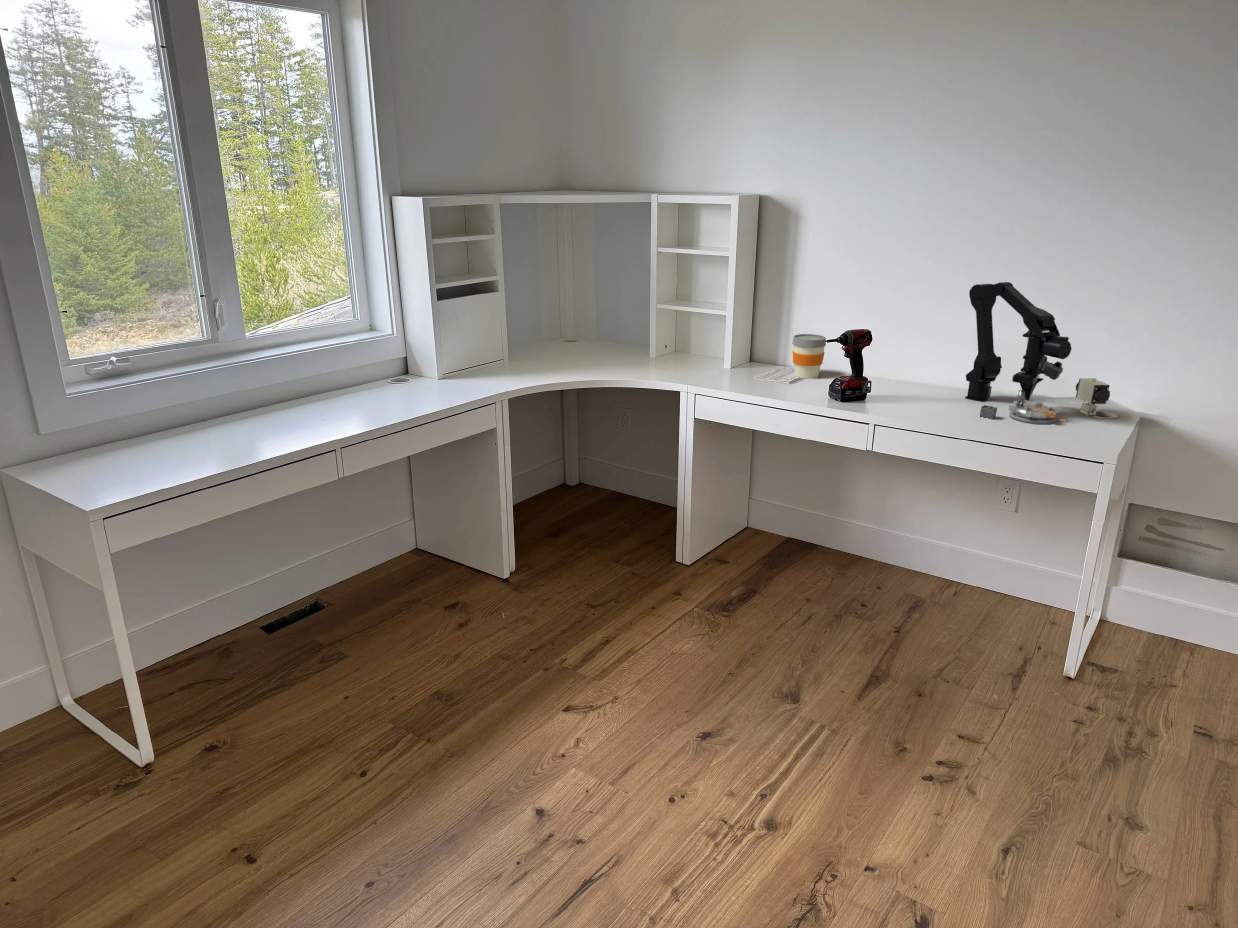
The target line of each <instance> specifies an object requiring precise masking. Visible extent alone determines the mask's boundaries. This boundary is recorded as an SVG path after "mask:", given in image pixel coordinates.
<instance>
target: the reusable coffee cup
mask: <svg viewBox="0 0 1238 928" xmlns="http://www.w3.org/2000/svg"><path fill="white" fill-rule="evenodd" d="M791 343H792V346H793V349H792V363H793V365H794V366H793V367H794V377H797V378H800V379H816V378H818V377H819V375H820V374H819V373H820V370H821V366H822V365H823V361H824V356H825V347H826V346H827V337H826V336H824V335H821V334H813V333H802V334H801V333H799V334H795V335H793V337H792V342H791Z"/></svg>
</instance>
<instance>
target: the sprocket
mask: <svg viewBox="0 0 1238 928" xmlns="http://www.w3.org/2000/svg"><path fill="white" fill-rule="evenodd" d="M1024 396H1025V391H1024V390H1022V389H1019V390H1018V395H1017V400H1014V401H1013V404H1009V405H1008V411H1009V412H1011V411H1013V413H1014V414H1015V415H1017V416H1020V417H1024V418H1028V419H1037V420H1048V419H1052V418H1054V417H1055V416H1056V415H1057V414H1060V411H1061V408H1060V407H1059V406H1047V405H1044V402H1042V401H1036V402H1035V403H1027V402H1026V403H1025V402H1024V401H1025V398H1024Z"/></svg>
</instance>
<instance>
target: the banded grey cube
mask: <svg viewBox="0 0 1238 928" xmlns="http://www.w3.org/2000/svg"><path fill="white" fill-rule="evenodd" d="M997 410H998V407H995V406H993V405H985V404H984V405H982V406H981V407H980V413H979V418H981V417H983V419H986V418H988V420H994V419H996V418H995V417H996V416H997Z"/></svg>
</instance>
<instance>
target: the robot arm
mask: <svg viewBox="0 0 1238 928" xmlns="http://www.w3.org/2000/svg"><path fill="white" fill-rule="evenodd" d="M968 295H969V300H970V304H971V306H972V307H973V308H974V310H975V317H976V318H975V319H976V320H975V321H976V338H977V356H976V357H975V359H974V361H973V369H971V370H970V371H969V372H968V373H966V374H965V381H966V382H968V389H967V395H966V396H965V399H968V400H975V401H979V402H986V401H987V400H989V399H991V394H992V387H993V386H991V385H992V382H995V381H996V379H997V377H998V376H999V375H1000V373H1001V370H1002V369H1003V367H1002V357H1001V356H997V355H996V353H995V350H994V348H995V347H994V329H993V308H994V306H995V304H996V301H997V297H1000V298H1002V299H1003V300H1004V302H1006V303H1007V304H1008V305H1009V306H1010V307H1011V308H1012V309H1014V311H1016V313H1017V314H1019V315H1020V316H1021V319H1022V321H1023V324H1024V325H1025V327H1026V328H1027V331H1026V332H1025V333H1023V334H1022V337H1023V338H1027V343H1026V350H1025V354H1024V355H1023V356H1022V360H1024V361H1023V366H1022V367H1020V371H1018V372H1017V373H1014V374H1013V375H1012V378H1011V379H1012V380H1011V381H1012V383H1018V384H1019V385H1020V388H1021V390H1024V391H1025V396H1024V401H1029V400H1030V399H1031V397H1032V396H1033V393H1034V390H1035V389H1036V386H1037V385H1038V384H1039V383H1040V382H1042V381H1044V378H1041V377H1040V375H1044V376H1045V377H1048V378H1049V379H1051V380H1054V381H1056V380H1057V379H1059V377H1060V375H1061V374H1062V373H1063V372H1064V371H1063V370H1064V367H1063V363H1062V362H1060V361H1056V362H1054V363H1053V362H1049V361H1048V357H1051V358H1057V359H1061V360H1064V359H1065V360H1066V358H1068V357H1069V356H1070V354H1071V352H1072V349H1073V348H1072V345H1071V344H1072V343H1071V342H1070V341H1069V339H1070V338H1069V337H1068V336H1061V333H1060V331H1059V329H1058V327H1057V324H1056V322H1055V320H1056V318H1055V316H1054V315H1053V314H1051V313H1050V312H1048V311H1047V310H1045V309H1044V308H1043V309H1042V308H1039V307H1037V306H1036V305H1034V304H1033V303H1032V302H1031V301H1030V300H1029V299H1027V298H1026V296H1024V295H1023V294H1022V293H1021V292H1020V291H1019V290H1018V289H1017V288H1015V287H1014V285H1013V283H1012V282H1010V281H1000V282H998V283H993V284H992V283H980V284H979V283H978V284H973V285H972V287H970V289H969V292H968Z"/></svg>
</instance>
